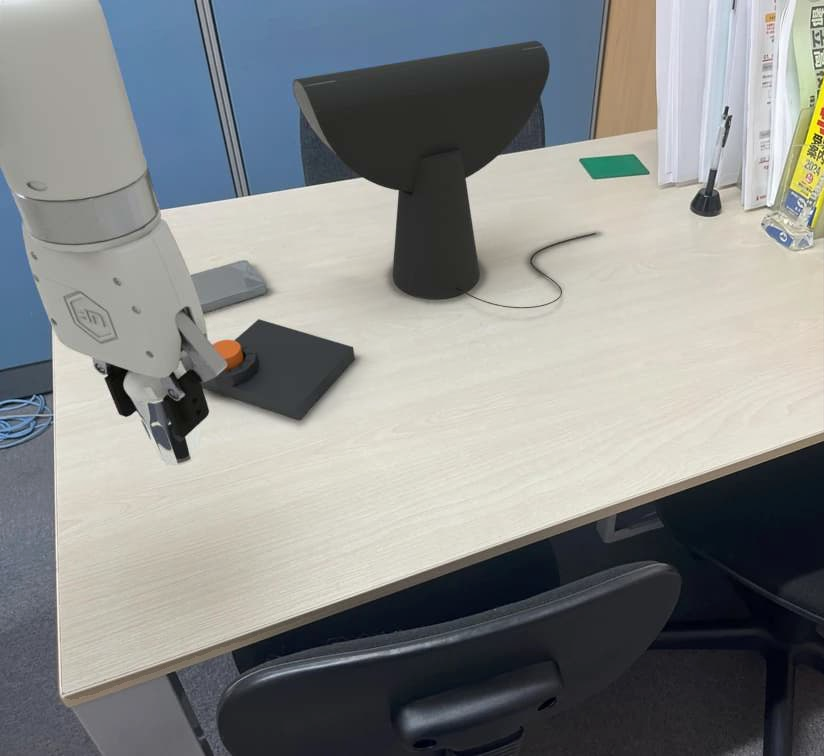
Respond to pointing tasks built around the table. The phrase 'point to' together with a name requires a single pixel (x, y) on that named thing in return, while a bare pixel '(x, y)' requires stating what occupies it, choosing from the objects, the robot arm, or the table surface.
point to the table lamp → (429, 146)
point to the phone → (227, 285)
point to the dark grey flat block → (282, 369)
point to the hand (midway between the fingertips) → (164, 413)
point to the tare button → (230, 352)
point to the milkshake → (160, 418)
